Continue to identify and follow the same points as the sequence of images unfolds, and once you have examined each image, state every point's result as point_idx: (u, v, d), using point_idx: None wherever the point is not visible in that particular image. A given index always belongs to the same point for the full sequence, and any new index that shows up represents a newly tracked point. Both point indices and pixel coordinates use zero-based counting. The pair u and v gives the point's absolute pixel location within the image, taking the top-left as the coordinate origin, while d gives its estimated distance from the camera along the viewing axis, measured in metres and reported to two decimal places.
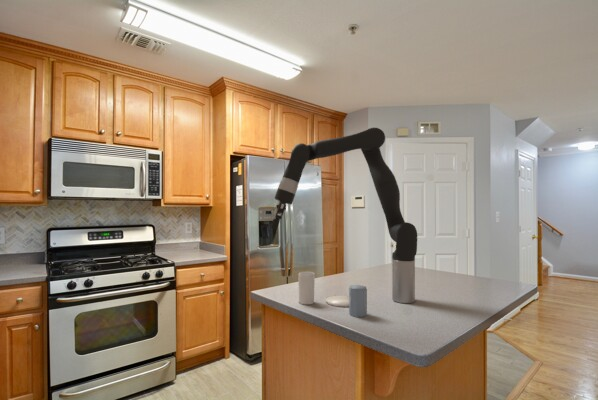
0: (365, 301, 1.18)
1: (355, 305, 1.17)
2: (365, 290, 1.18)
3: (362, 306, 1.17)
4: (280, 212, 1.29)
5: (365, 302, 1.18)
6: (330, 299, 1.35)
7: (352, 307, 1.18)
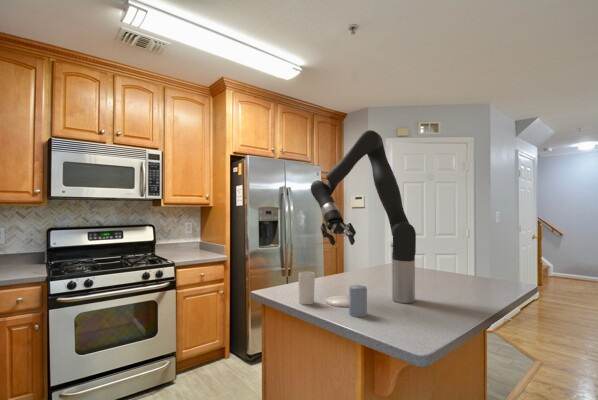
0: (365, 301, 1.18)
1: (355, 305, 1.17)
2: (365, 290, 1.18)
3: (362, 306, 1.17)
4: None
5: (365, 302, 1.18)
6: (330, 299, 1.35)
7: (352, 307, 1.18)
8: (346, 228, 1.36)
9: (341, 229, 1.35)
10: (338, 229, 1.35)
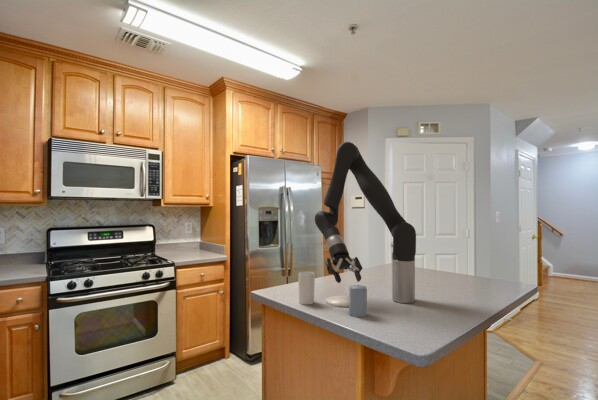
0: (365, 301, 1.18)
1: (355, 305, 1.17)
2: (365, 290, 1.18)
3: (362, 306, 1.17)
4: None
5: (365, 302, 1.18)
6: (330, 299, 1.35)
7: (352, 307, 1.18)
8: (352, 263, 1.30)
9: (347, 264, 1.30)
10: (344, 265, 1.30)
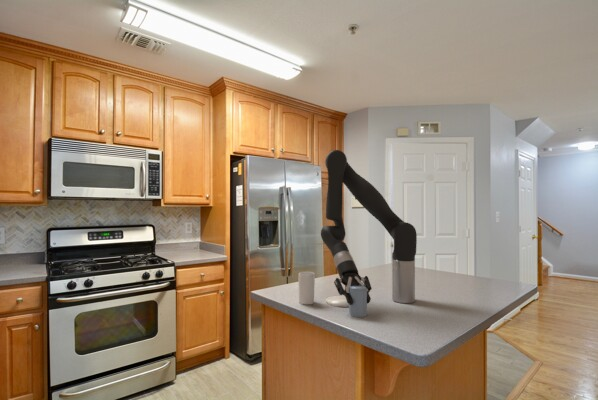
0: (365, 301, 1.18)
1: (355, 305, 1.17)
2: (365, 290, 1.18)
3: (362, 306, 1.17)
4: (347, 285, 1.22)
5: (365, 302, 1.18)
6: (330, 299, 1.35)
7: (352, 307, 1.18)
8: (361, 283, 1.23)
9: (356, 283, 1.23)
10: (353, 284, 1.22)
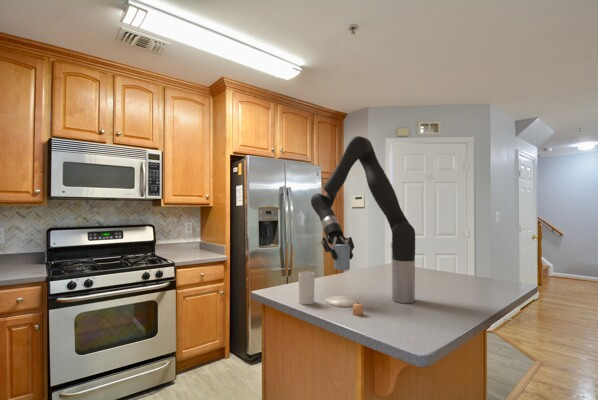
0: (348, 257, 1.33)
1: (339, 260, 1.32)
2: (348, 247, 1.33)
3: (345, 261, 1.32)
4: None
5: (348, 257, 1.33)
6: (330, 299, 1.35)
7: (336, 262, 1.33)
8: (345, 242, 1.38)
9: (341, 242, 1.38)
10: (338, 242, 1.38)
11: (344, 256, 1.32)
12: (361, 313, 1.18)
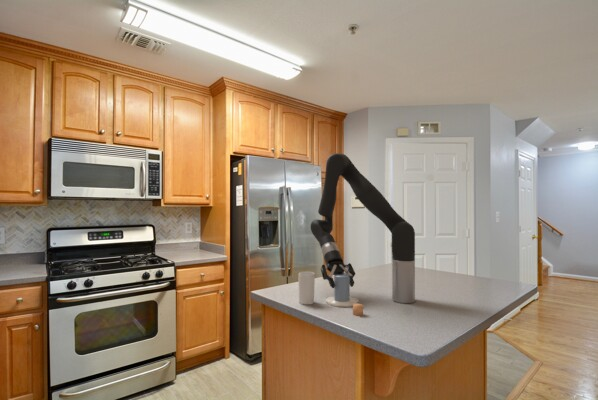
0: (348, 288, 1.33)
1: (339, 291, 1.32)
2: (348, 278, 1.33)
3: (345, 292, 1.32)
4: None
5: (348, 289, 1.33)
6: (330, 299, 1.35)
7: (336, 293, 1.33)
8: (346, 269, 1.38)
9: (341, 270, 1.38)
10: (338, 271, 1.38)
11: (344, 288, 1.32)
12: (361, 313, 1.18)
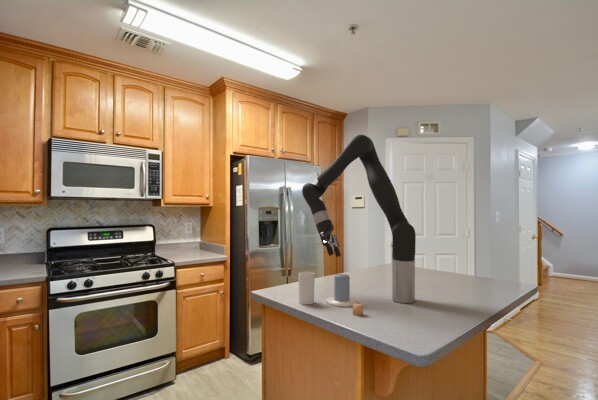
0: (348, 288, 1.33)
1: (339, 291, 1.32)
2: (348, 278, 1.33)
3: (345, 292, 1.32)
4: (328, 240, 1.43)
5: (348, 289, 1.33)
6: (330, 299, 1.35)
7: (336, 293, 1.33)
8: (335, 240, 1.48)
9: (333, 240, 1.46)
10: (331, 240, 1.45)
11: (344, 288, 1.32)
12: (361, 313, 1.18)
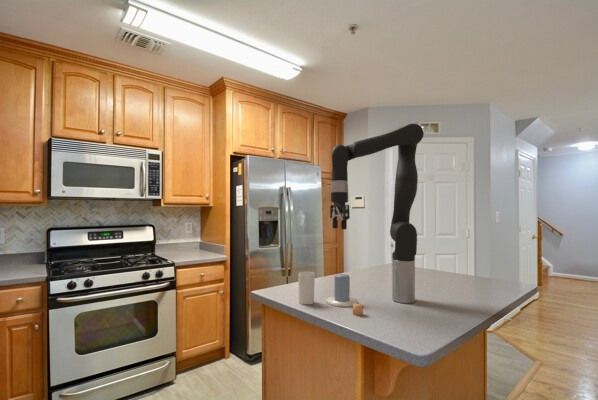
0: (348, 288, 1.33)
1: (339, 291, 1.32)
2: (348, 278, 1.33)
3: (345, 292, 1.32)
4: (342, 212, 1.39)
5: (348, 289, 1.33)
6: (330, 299, 1.35)
7: (336, 293, 1.33)
8: None
9: None
10: None
11: (344, 288, 1.32)
12: (361, 313, 1.18)
